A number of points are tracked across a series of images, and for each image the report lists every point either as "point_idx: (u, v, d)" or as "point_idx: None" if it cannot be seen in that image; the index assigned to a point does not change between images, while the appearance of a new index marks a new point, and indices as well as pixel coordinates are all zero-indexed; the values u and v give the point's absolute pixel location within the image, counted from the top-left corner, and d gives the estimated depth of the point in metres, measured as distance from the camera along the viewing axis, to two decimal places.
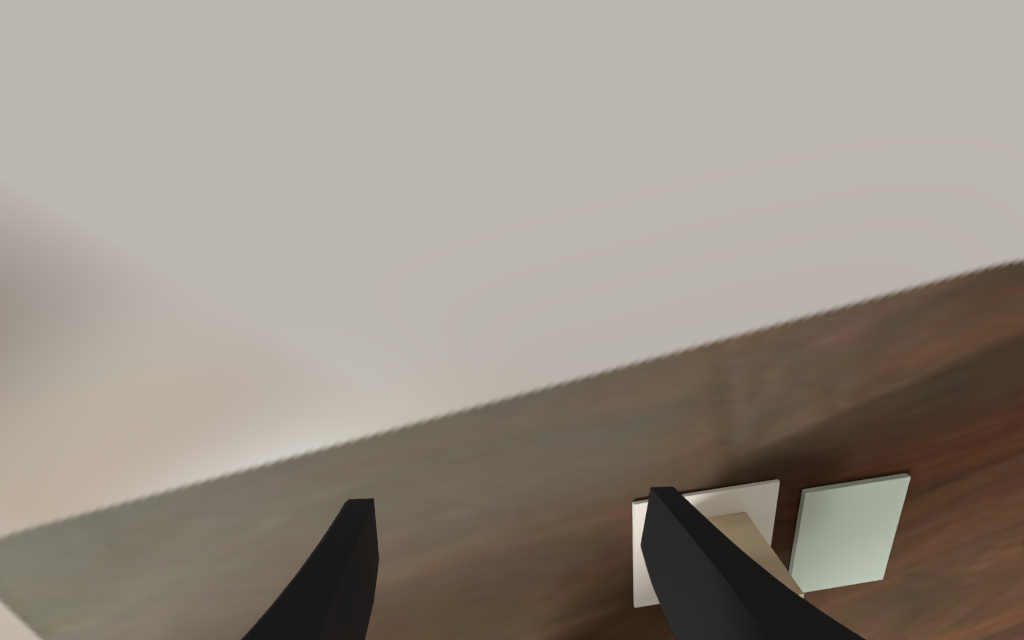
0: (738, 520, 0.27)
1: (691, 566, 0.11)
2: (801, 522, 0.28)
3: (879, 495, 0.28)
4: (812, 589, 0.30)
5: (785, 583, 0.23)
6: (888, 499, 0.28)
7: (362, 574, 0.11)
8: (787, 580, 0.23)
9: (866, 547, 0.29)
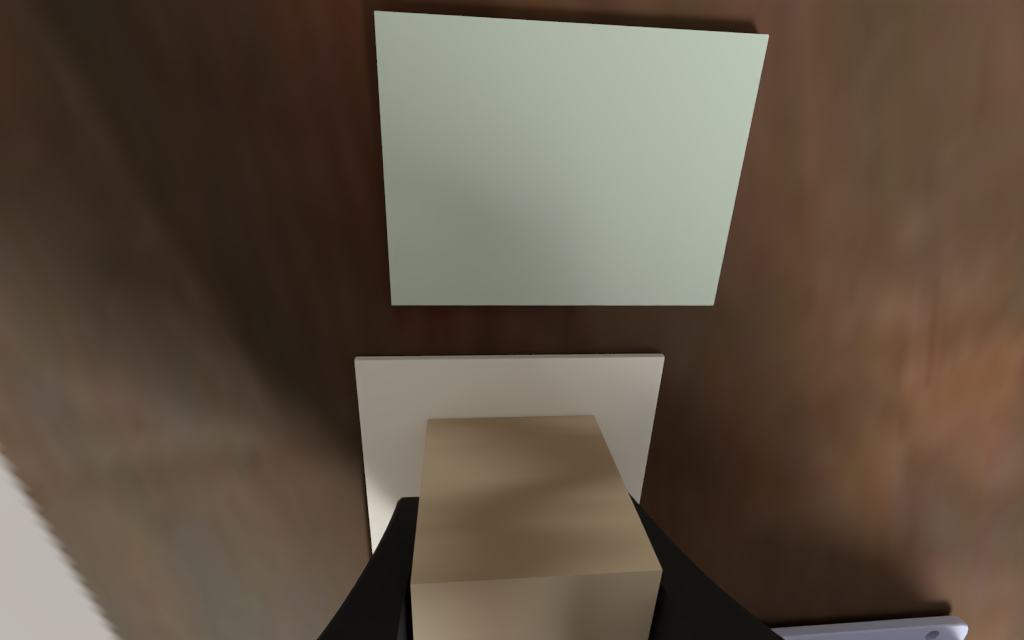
0: None
1: None
2: (481, 302, 0.12)
3: (430, 104, 0.10)
4: (719, 247, 0.12)
5: None
6: (449, 72, 0.10)
7: None
8: None
9: (616, 113, 0.11)
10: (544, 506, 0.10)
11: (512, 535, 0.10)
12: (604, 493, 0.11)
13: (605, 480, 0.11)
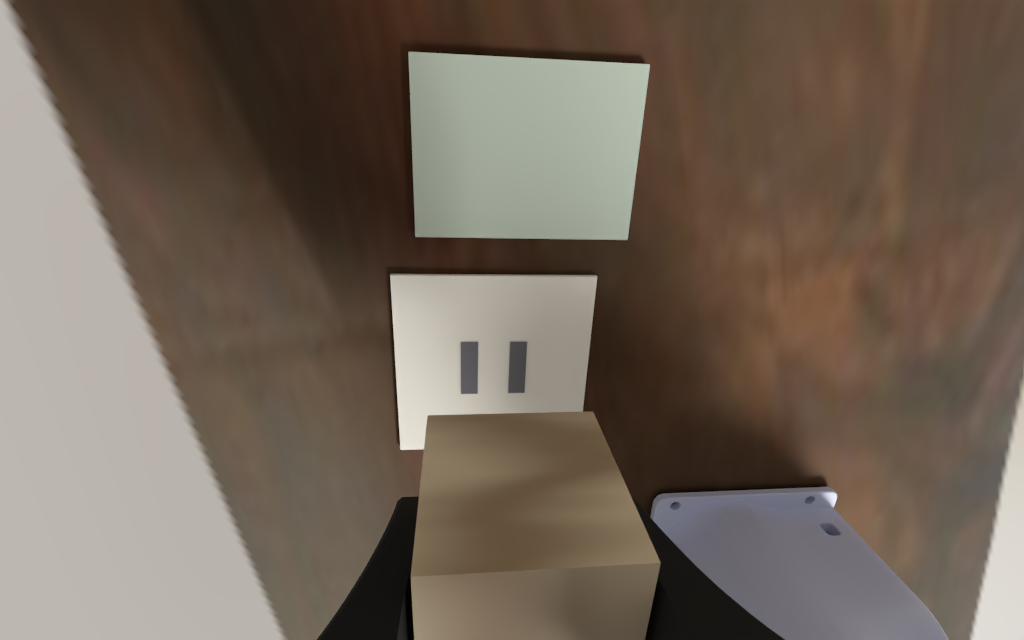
0: None
1: None
2: (473, 236, 0.18)
3: (441, 107, 0.17)
4: (628, 200, 0.18)
5: None
6: (453, 88, 0.16)
7: None
8: None
9: (557, 112, 0.17)
10: (542, 501, 0.10)
11: (512, 528, 0.10)
12: (602, 487, 0.11)
13: (604, 475, 0.11)
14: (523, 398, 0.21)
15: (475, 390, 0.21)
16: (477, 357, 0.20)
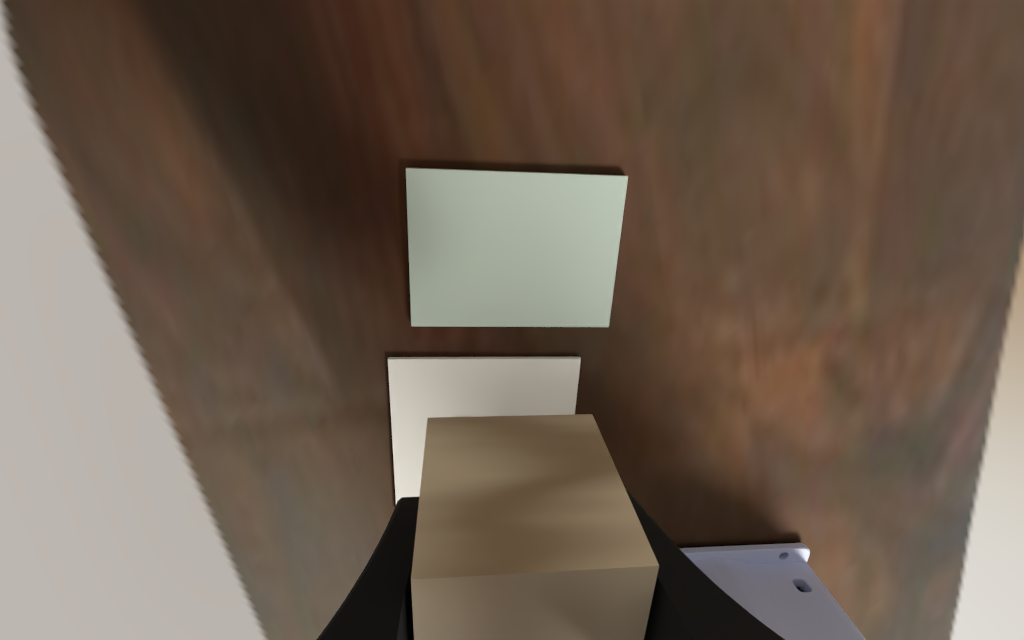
0: None
1: None
2: (465, 325, 0.20)
3: (436, 214, 0.18)
4: (609, 292, 0.20)
5: None
6: (446, 198, 0.18)
7: None
8: None
9: (542, 218, 0.18)
10: (542, 503, 0.10)
11: (511, 531, 0.10)
12: (602, 491, 0.11)
13: (603, 477, 0.11)
14: None
15: None
16: None
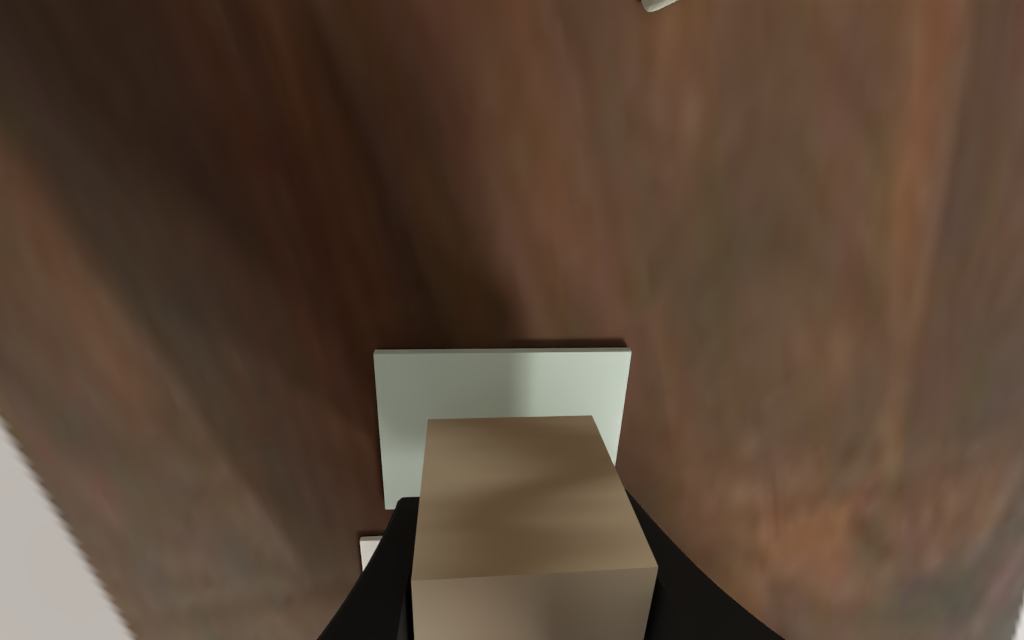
0: None
1: None
2: None
3: (410, 399, 0.16)
4: None
5: None
6: (421, 382, 0.15)
7: None
8: None
9: (533, 397, 0.16)
10: (542, 504, 0.11)
11: (511, 533, 0.10)
12: (601, 492, 0.11)
13: (602, 479, 0.11)
14: None
15: None
16: None
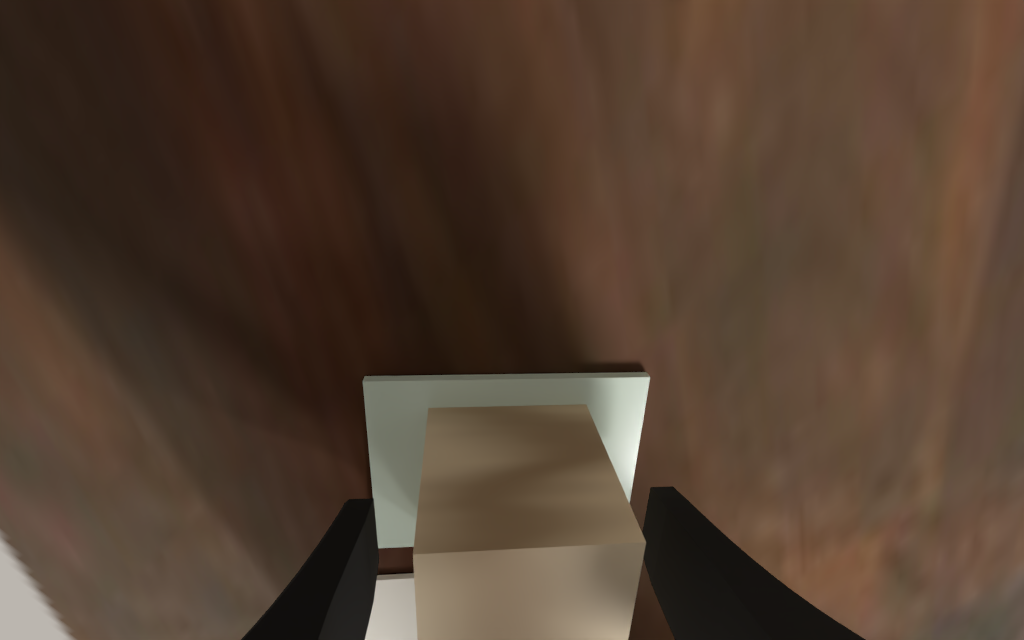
0: None
1: (691, 566, 0.11)
2: None
3: (404, 430, 0.14)
4: None
5: None
6: (417, 411, 0.14)
7: (362, 574, 0.11)
8: None
9: None
10: (537, 486, 0.11)
11: (507, 511, 0.10)
12: (594, 475, 0.11)
13: (595, 462, 0.12)
14: None
15: None
16: None
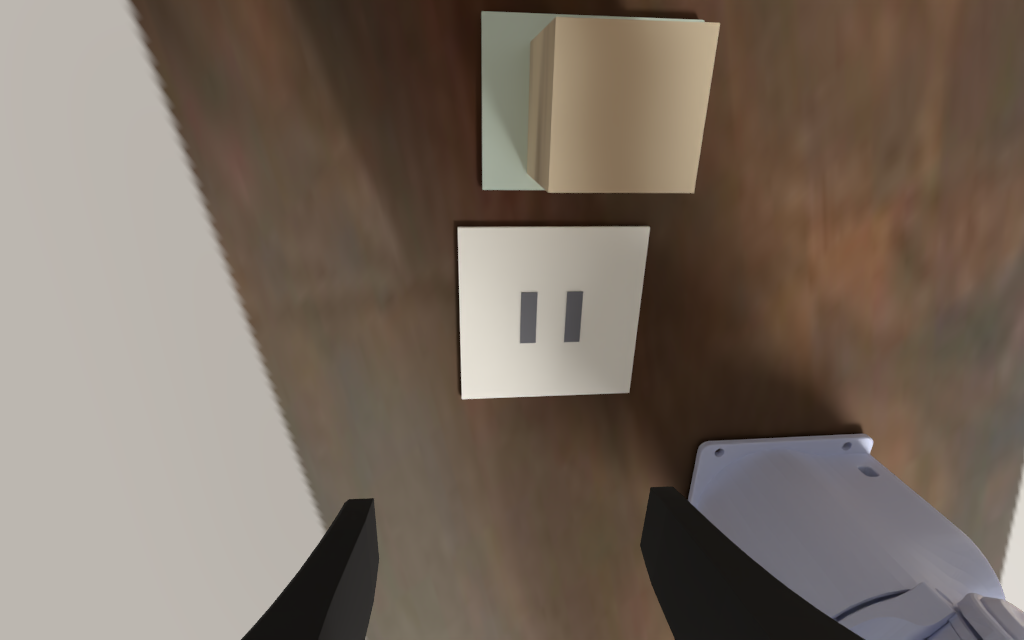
0: (531, 61, 0.17)
1: (691, 566, 0.11)
2: (536, 188, 0.20)
3: (510, 64, 0.18)
4: None
5: (550, 41, 0.14)
6: (521, 45, 0.18)
7: (362, 574, 0.11)
8: (549, 34, 0.14)
9: None
10: None
11: None
12: None
13: None
14: (578, 347, 0.23)
15: (533, 339, 0.22)
16: (536, 307, 0.22)
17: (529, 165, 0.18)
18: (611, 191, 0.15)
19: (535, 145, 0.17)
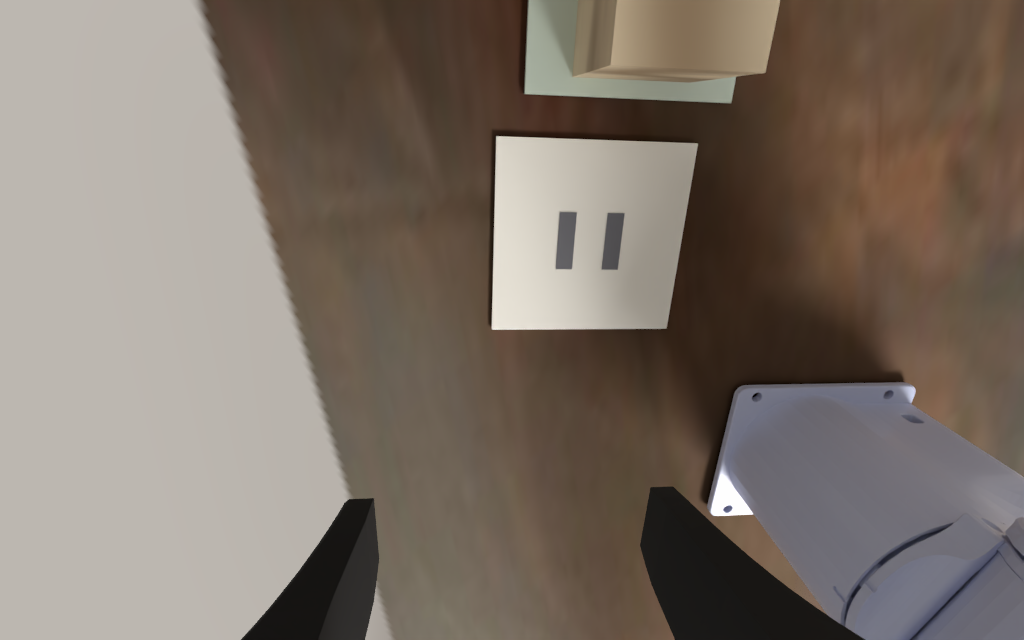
0: None
1: (691, 566, 0.11)
2: (581, 94, 0.18)
3: None
4: None
5: None
6: None
7: (362, 574, 0.11)
8: None
9: None
10: None
11: None
12: None
13: None
14: (616, 276, 0.21)
15: (570, 265, 0.21)
16: (574, 229, 0.20)
17: (577, 64, 0.17)
18: (677, 67, 0.14)
19: (589, 32, 0.16)
